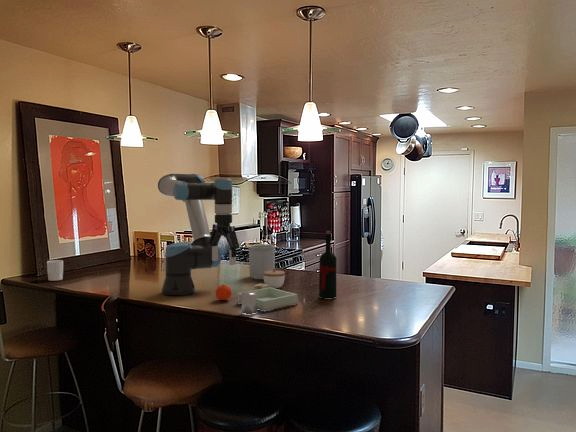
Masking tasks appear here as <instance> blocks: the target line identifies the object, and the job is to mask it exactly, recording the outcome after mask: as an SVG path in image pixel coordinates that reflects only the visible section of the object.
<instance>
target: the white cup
mask: <svg viewBox="0 0 576 432" xmlns="http://www.w3.org/2000/svg"><path fill="white" fill-rule="evenodd" d="M46 271H47V277H48V278H47V279H48V281H51V282H52V281H62V280H63V278H64V277H63V276H64V260H63V259H54V260H53V259H52V260H47V261H46Z"/></svg>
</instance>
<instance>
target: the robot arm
mask: <svg viewBox="0 0 576 432" xmlns="http://www.w3.org/2000/svg"><path fill="white" fill-rule="evenodd" d="M157 189H158V191H159V193H161V194H162V195H163V196H170V197H174V199H175V200H176V201H182V202H183V203H185V208H186V212H187V217H188V221H189V225H190V226H189V227H190V230H191V233H192V239H193V241H191V242H190V241H182V242H181V241H180V242H173V243H171V244H168V245H167V246H166V247H165V250H164V251H165V254H164V258H165V261H164V262H165V264H164V265H165V271H164V272H165V277H164V281H163V284H162V287H161V294H162V295H163V294H164V296H167V295H183V296H187V295H186V294H189V295H192V294H191V293H193V294H195V293H196V287H195V284H194V281H193V277H192V270H197V269H198V270H200V269H212V268H217V267H218V266H219V265H220V264H221V261H222V256H223V248H222V245H221V244H220V243H219V241H220V240H221V238H222V237H224V238H225V240H226V241H227V244H228V246H229V250H228V251H229V253H228V254H229V256H228V258H229V266H234V265H236V264H237V263H236V262H237V261H236V260H237V259H236V258H237V250H238V249H240V244H239V240H238V236H237V234H236V226H235V225H231V224H232V223H233V215H232V213H233V180H232V178H215V179H214V182H206V181H205V178H204V177H203V176H202V175H201V174H198V173H197V174H196V173H190V174H189V173H169V174H165V175H163V176H162V177H161V178H159V180H158V182H157ZM207 200H209V201H211V200H212V201H214V214H215V215H214V223H215V224H214V223H213V224H212V226H211V227H212V229H211V231H210V227H209V223H208V219H207V215H206V210H205V207H204V202H203V201H207Z"/></svg>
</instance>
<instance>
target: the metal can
mask: <svg viewBox="0 0 576 432" xmlns="http://www.w3.org/2000/svg"><path fill="white" fill-rule="evenodd" d="M241 293H242V292H241ZM256 312H257V313H258V310H257V293H256V292H248V291H243V293H242V305H241V314H242V313H246V314H252V313H256Z"/></svg>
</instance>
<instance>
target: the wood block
mask: <svg viewBox="0 0 576 432" xmlns="http://www.w3.org/2000/svg"><path fill="white" fill-rule="evenodd" d="M264 288H269V285H268V284H265V283H258V284H253V290H258V289H264Z"/></svg>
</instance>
